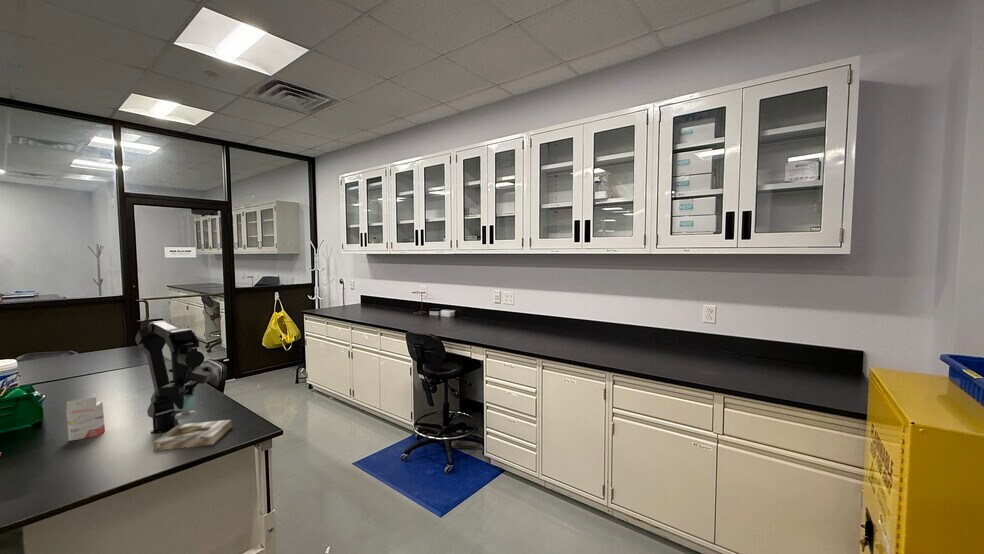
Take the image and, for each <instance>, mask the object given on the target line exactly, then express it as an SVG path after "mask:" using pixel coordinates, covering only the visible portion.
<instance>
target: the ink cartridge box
mask: <svg viewBox="0 0 984 554" xmlns="http://www.w3.org/2000/svg"><path fill="white" fill-rule="evenodd" d="M81 402H82V403H81ZM103 405H104V404H103V401H98V402H97V398H96V397H90V398H82V399H75V400H69V401H66V410H65V413H66V423H67V424H66V425H67V435H68V441H69V442H70V441H75V440H82V439H86V438H87V439H88V438H89V439H90V438H93V437H98V436H101V435H102V434H103V433H104V432H105V431H106V428H105V416H104V406H103Z"/></svg>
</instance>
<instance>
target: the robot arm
mask: <svg viewBox="0 0 984 554" xmlns="http://www.w3.org/2000/svg"><path fill="white" fill-rule="evenodd" d="M135 344H137V345H138V348H139V350H140V351H141V352H142V353H144V354H145V355H146V358H147V362H148V366H149V367H148V368H149V371H150V375H151V376H150V377H151V381H152V385H153V389H154V391H153V393H152V395H151V397H150V404H149V406H148V408H147V410H146V411H147V412H146V413H147V416H148V418H149V417H150V418H151V419H152V428H153V429H152V430H151V431H150V434H157V433H167V432H168V431H170V430H171V429H173V428H174V427H175V426H177V425H180V423H179V420H178V419H175V415H177V411H174V404H175V405H176V406H177V408H178V409H183V404H184V395H193V394H194V392H195V389H196V387H198V386H199V385H203V384H206V383H207V382H209V381H210V379H211V376H213V375H214V374H213V370H212V367H211V366H206V367H204V368H198V367H200V366H202V364H203V363H204V361H205V355H204V354H203V352H201V351H200V350H199V351H198V348H200V341H199V339H198V338H197V335H196V334H195V332H194V331H193V330H192V329H191V328H189V327H188V328H187V327H179V328H178V327H177V326H174V325H172V324H170V323H168V322H167V320H157V321H150V322H148V324H147V325H146V326H145V327H143V328H141V329H140V330H138V331H137V333H136V336H135ZM165 345H166V346H167V348H169V352H170V361H171V368H169V369H168V371H167V366H166V365H167V364H166V361H165V357H164V353H163V352H164V351H163V349H164V347H165ZM168 372H169V373H171V375H172V379H171V380H170V379H169V375H168Z"/></svg>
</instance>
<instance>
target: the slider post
mask: <svg viewBox="0 0 984 554" xmlns="http://www.w3.org/2000/svg"><path fill="white" fill-rule="evenodd" d="M196 402H197V401H196V394H194V393H193V395H184V404H183V409H178V408H177V406H176V405H175V404H174V411H176V412H178V413H176V415H175V419H178V421H179V420H186V419H190V418H192V417H195V416H196V415H197V411H196V410H190V409H192V408H194V407H195V406H196V405H197V404H196ZM179 411H181V412H179Z"/></svg>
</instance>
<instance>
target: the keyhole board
mask: <svg viewBox="0 0 984 554" xmlns="http://www.w3.org/2000/svg"><path fill="white" fill-rule="evenodd" d="M230 429H232V419H224V420H223V419H222V420H213V421H205V422H204V421H203V422H193V423H192V422H191V423H183V424H180V423H179V425H177V426H175V427H174V428H173V429H171V430H170V431H168V432H164V433H163V435H161V436H160V437H159V438H157V439H155V440H154V441H153V442H152V444H153V445H152V446H153V451H154V450H158V451H164V450H163V449H168V450H173V448H177V449H185V448H184V447H186V448H194V447H202V446H204V447H205V446H213V445H214V444H215V443H217V442H218V440H219V439H221V438H222V437H223V436H224V435H225V434H227V432H229V430H230Z"/></svg>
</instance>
